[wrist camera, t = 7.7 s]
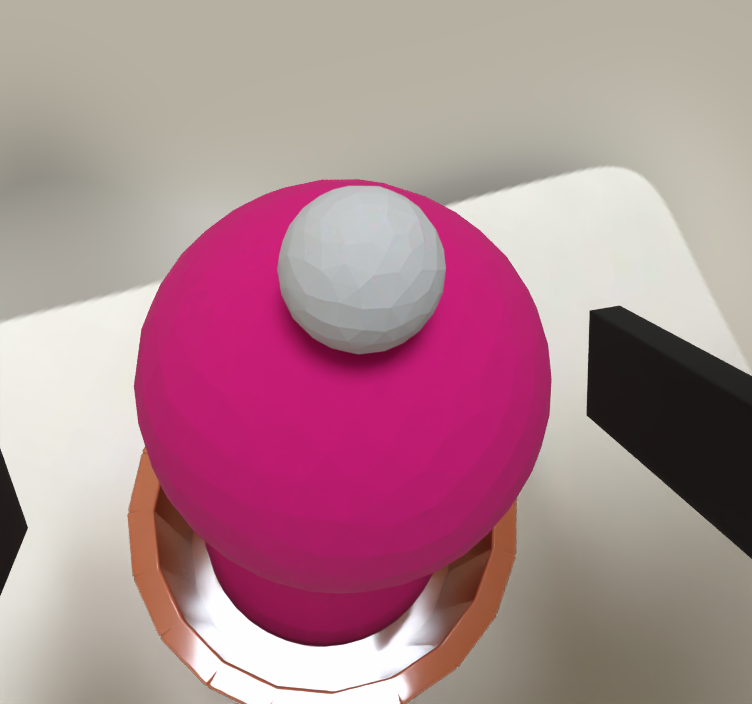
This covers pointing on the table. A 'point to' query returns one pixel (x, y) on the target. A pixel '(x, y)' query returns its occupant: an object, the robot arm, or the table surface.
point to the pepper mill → (340, 400)
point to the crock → (296, 661)
